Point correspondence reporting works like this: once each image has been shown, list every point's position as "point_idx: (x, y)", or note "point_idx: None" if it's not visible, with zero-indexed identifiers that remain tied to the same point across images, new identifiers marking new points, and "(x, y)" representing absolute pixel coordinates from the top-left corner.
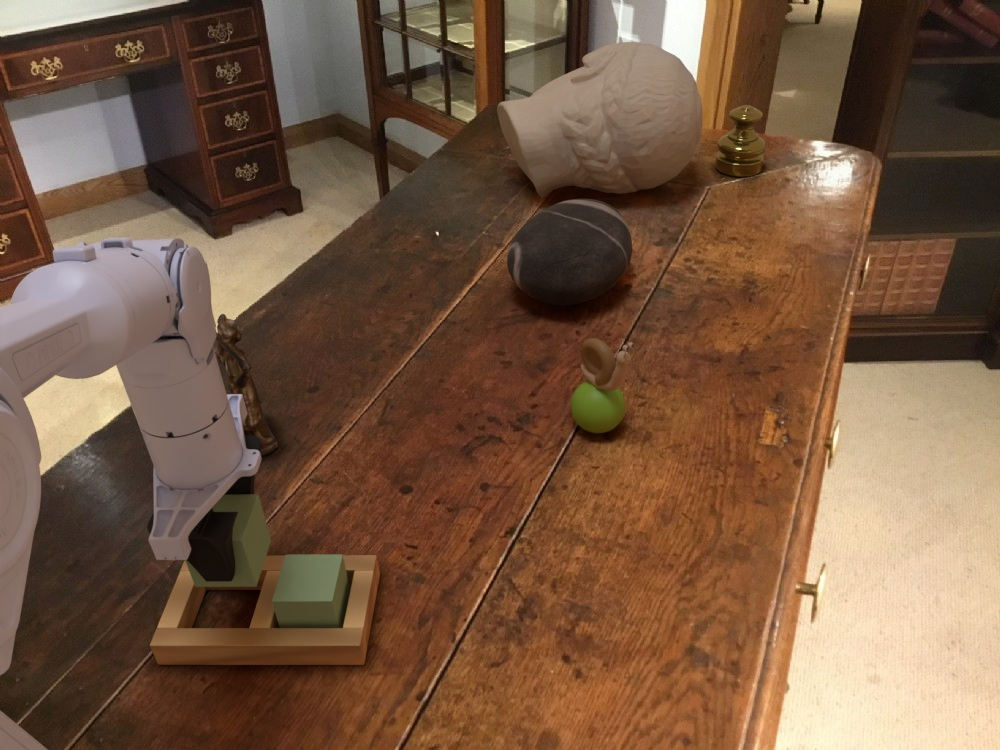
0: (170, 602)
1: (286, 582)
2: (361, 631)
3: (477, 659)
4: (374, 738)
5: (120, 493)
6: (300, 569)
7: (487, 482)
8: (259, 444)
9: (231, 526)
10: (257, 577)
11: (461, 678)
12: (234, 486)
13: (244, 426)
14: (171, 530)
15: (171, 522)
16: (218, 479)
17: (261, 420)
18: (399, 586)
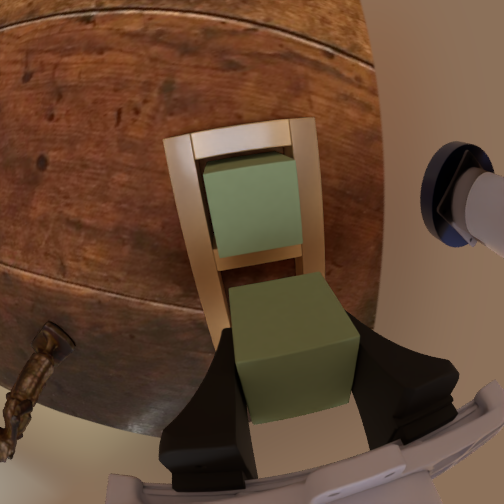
0: None
1: (269, 237)
2: (295, 119)
3: (276, 5)
4: (376, 94)
5: (151, 406)
6: (244, 226)
7: (21, 77)
8: (184, 451)
9: (447, 373)
10: (311, 276)
11: (302, 18)
12: (240, 404)
13: (52, 364)
14: (494, 429)
15: (484, 440)
16: (424, 474)
17: (34, 345)
18: (183, 107)
